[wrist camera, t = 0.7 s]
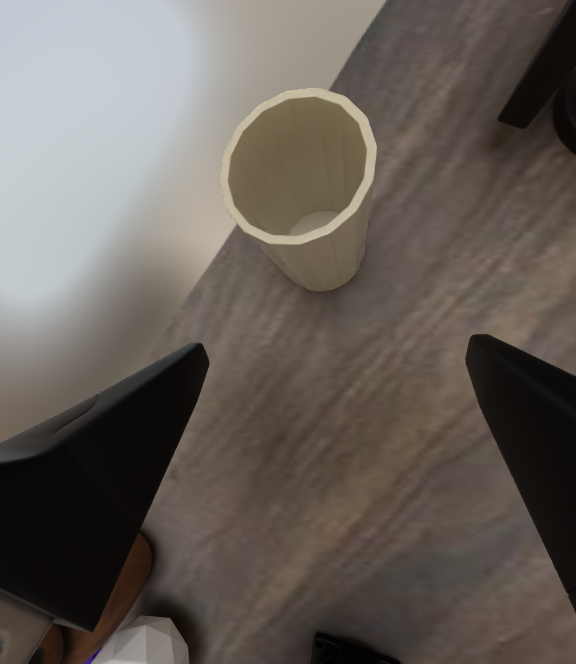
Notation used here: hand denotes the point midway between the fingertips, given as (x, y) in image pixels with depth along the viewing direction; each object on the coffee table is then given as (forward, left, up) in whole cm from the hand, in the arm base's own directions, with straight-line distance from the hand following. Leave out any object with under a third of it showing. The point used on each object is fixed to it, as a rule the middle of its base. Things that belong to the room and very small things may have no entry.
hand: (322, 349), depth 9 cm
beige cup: (+8, +2, -13) cm, 15 cm away
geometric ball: (-24, +15, -9) cm, 30 cm away
